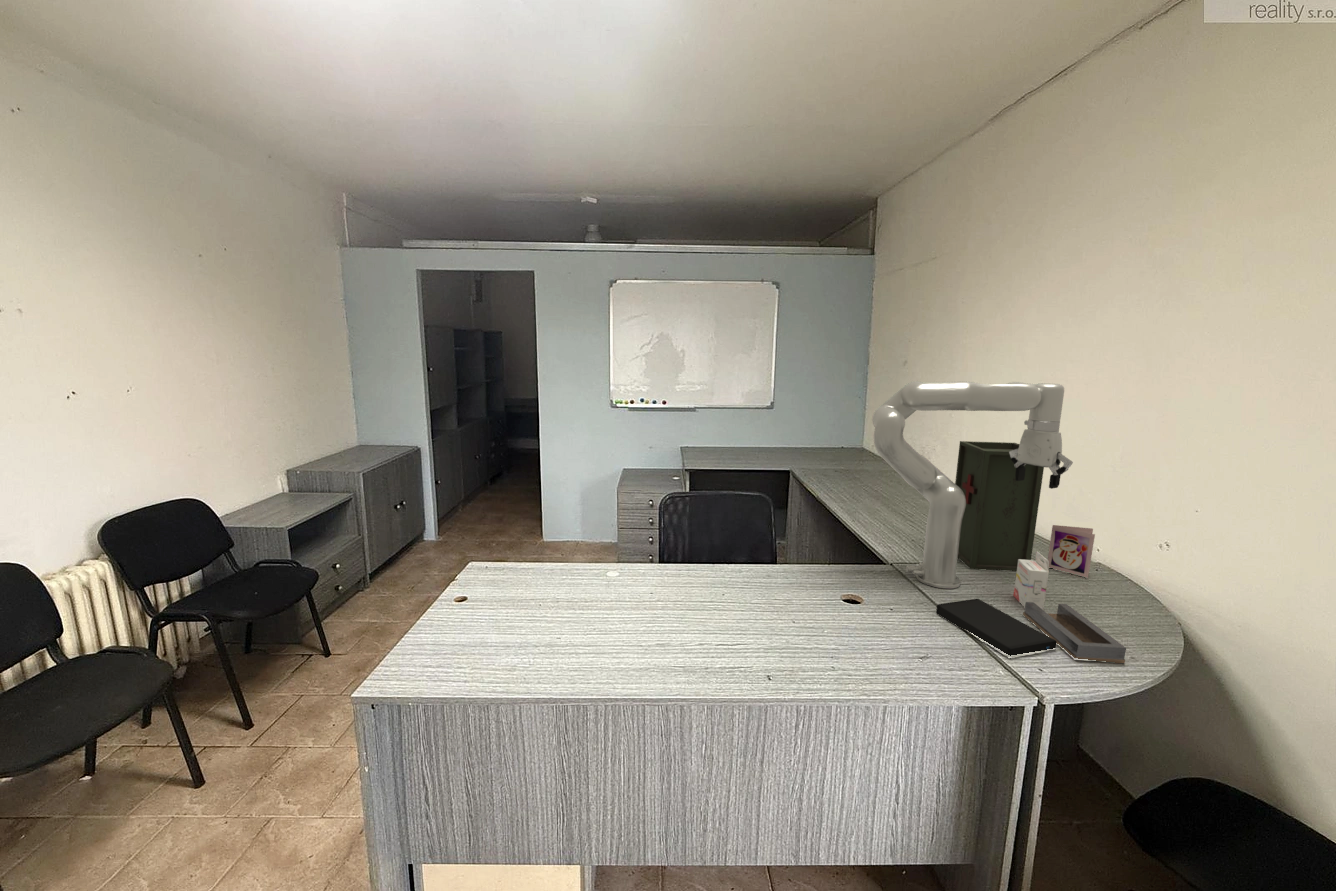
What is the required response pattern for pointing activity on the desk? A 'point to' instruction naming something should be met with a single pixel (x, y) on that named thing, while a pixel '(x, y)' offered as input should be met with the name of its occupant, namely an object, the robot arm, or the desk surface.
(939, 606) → the external hard drive
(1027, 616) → the frame
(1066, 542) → the greeting card
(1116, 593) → the desk surface
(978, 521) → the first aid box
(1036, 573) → the ink cartridge box
